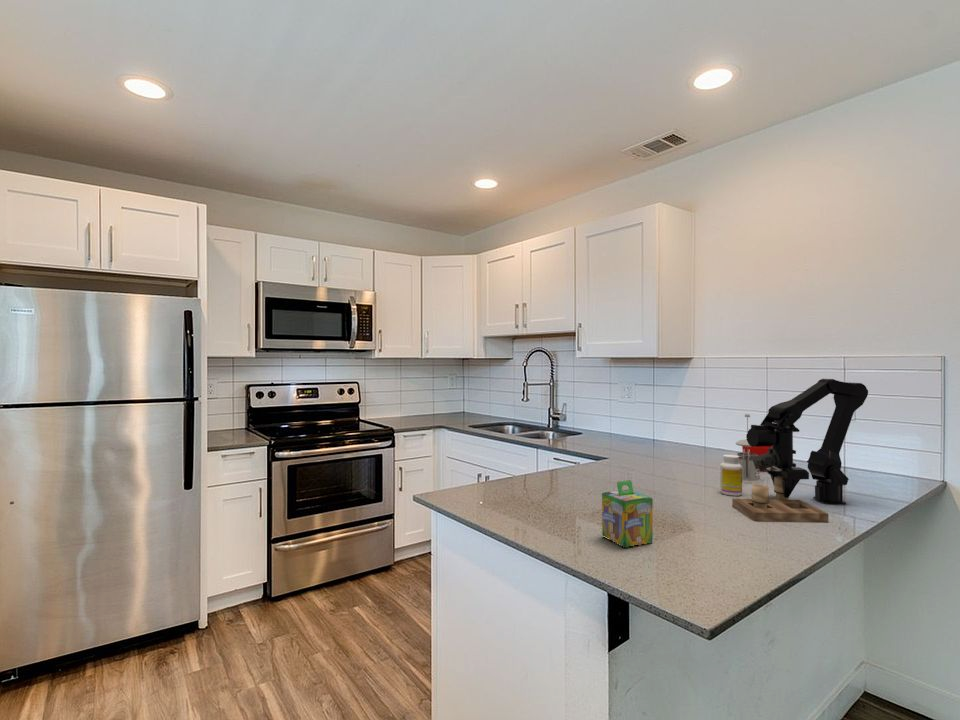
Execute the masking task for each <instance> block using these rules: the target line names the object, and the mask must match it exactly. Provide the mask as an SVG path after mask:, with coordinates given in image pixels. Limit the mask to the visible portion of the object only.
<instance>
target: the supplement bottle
mask: <svg viewBox="0 0 960 720" xmlns="http://www.w3.org/2000/svg"><path fill="white" fill-rule="evenodd" d="M739 457H740V456H738V455H737V454H723V456H722V458H723V461H722V462H721V463H720V465H719V467H720V468H719V471H720V472H719V480H720V481H719V482H720V483H719V484H720V486H719V487H720V489H719V490H720V491H719V492H720V493H721V494H723V495H725V496H730V497H731V496H732V497H734V496H735V497H739V496H742V494H743V482H742V466H741V465H740V464H739V463H738V460H739Z"/></svg>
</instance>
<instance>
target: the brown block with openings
mask: <svg viewBox="0 0 960 720" xmlns="http://www.w3.org/2000/svg"><path fill="white" fill-rule="evenodd" d="M731 505H732V506H731V507H732V508H734V509H736V510H737V511H738V512H740V513H742V514H743V515H745V516H746V517H748V518H749V519H751V520H752V521H754V522H783V523H784V522H788V523H789V522H791V523H792V522H794V523H795V522H797V523H799V522H800V523H829V521H830V520H829V519H830V518H829V513H828V512H826V511H823V510H822V509H820V508H818V507H816V506H813V505H812V504H810V503H808V502H806V501H803V500H801V499H792V498H789V499H775V498H770V487H769V486H767V485H764V484H752V485H751V498H732V503H731Z"/></svg>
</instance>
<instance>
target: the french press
mask: <svg viewBox="0 0 960 720" xmlns="http://www.w3.org/2000/svg"><path fill="white" fill-rule="evenodd" d="M744 417H745V418H746V422H747V423H746V434H747V433H748V431H749V418H751V414H750V413H746V414H744ZM735 446H740V447H742V446H746V447H747V452H745V449H744V452H745V453H744V452H743V451H742V452H738V453H736V456H739V460H738V463H739V464H740V465H741V466H742V483H744V484H745V483H746V484H762V483H763V480H762V479H761V476H760V473H761V471H759V469H755V466H754V463H753V460H752V458H753V457H756V456H758V455H757V454H753V453H749V452H750V449H749V452H748V447H752V446H750V445H749V444H748V442H747V438H746V439H740V440H738V441H736V442H735Z"/></svg>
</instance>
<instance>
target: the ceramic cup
mask: <svg viewBox="0 0 960 720" xmlns="http://www.w3.org/2000/svg"><path fill="white" fill-rule="evenodd" d="M741 448H742V453H743V452H744V449H745V452H747V447H746V446H741ZM769 448H772V446H765V447H748V452H749V449H750V452H749V453H753V454H757V455H758V456H759V455H762V454H766V453H768V449H769ZM745 452H744V453H745ZM755 469H758V468H755ZM759 471H760V472H765V471H764V470H759ZM759 471H758V472H759Z"/></svg>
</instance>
